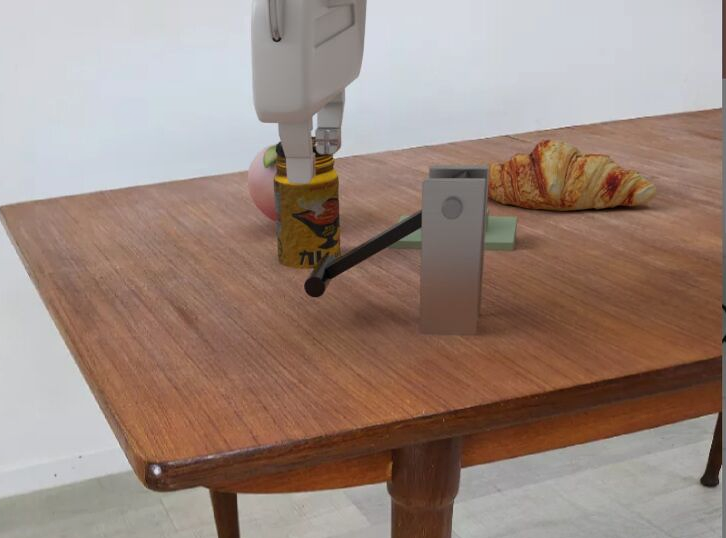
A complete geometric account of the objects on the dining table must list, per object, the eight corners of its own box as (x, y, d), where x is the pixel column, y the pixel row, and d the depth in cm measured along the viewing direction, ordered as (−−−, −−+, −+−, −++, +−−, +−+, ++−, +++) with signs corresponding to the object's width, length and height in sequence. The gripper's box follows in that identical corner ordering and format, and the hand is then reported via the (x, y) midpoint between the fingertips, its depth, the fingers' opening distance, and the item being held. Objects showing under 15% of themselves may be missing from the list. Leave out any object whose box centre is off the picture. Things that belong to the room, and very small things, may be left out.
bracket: (380, 357, 74) (380, 186, 67) (395, 320, 80) (396, 161, 73) (510, 362, 72) (524, 186, 65) (515, 324, 78) (528, 160, 71)
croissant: (651, 233, 108) (666, 160, 107) (648, 210, 99) (665, 131, 97) (470, 217, 115) (483, 149, 114) (452, 196, 106) (466, 121, 105)
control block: (515, 238, 98) (519, 198, 96) (511, 265, 91) (515, 222, 88) (400, 236, 100) (401, 197, 98) (388, 263, 93) (388, 221, 91)
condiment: (337, 285, 88) (333, 149, 82) (250, 283, 90) (239, 149, 83) (351, 261, 94) (348, 132, 87) (269, 260, 96) (260, 133, 89)
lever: (313, 305, 74) (297, 279, 73) (327, 282, 79) (312, 257, 78) (477, 213, 67) (461, 183, 67) (482, 194, 72) (468, 165, 71)
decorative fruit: (270, 215, 110) (264, 122, 104) (336, 218, 107) (333, 123, 102) (237, 238, 103) (229, 140, 97) (307, 242, 100) (303, 141, 95)
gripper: (322, -48, 54) (329, 202, 62) (379, -61, 70) (378, 138, 78) (217, -43, 55) (237, 201, 63) (297, -57, 72) (305, 138, 79)
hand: (316, 166), depth 71 cm, fingers open, 8 cm apart
